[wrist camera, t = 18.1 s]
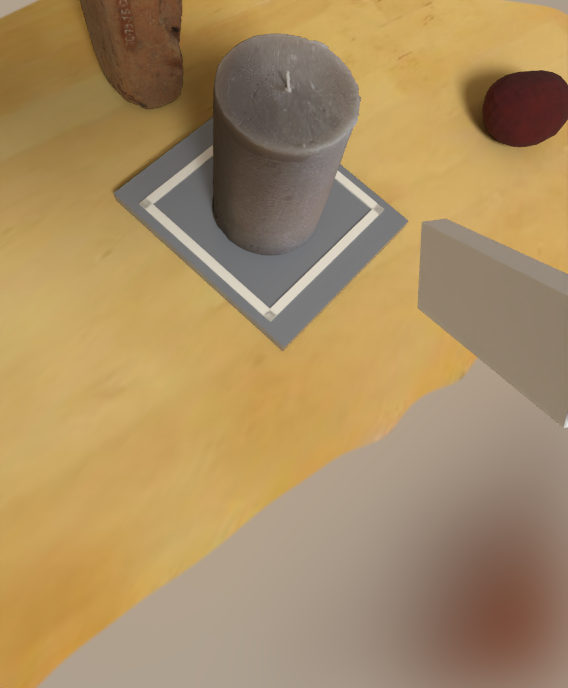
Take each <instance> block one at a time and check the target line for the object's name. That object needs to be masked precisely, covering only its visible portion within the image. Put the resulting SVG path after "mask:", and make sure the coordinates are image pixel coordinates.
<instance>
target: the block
mask: <svg viewBox="0 0 568 688" xmlns="http://www.w3.org/2000/svg"><path fill="white" fill-rule="evenodd" d="M80 2H81V6H82V10H83V14H84V17H85V21H86V24H87V27H88V31H89V34H90V38H91V41H92V44H93V47H94V50H95V53H96V56H97V58H98V61H99V63H100V66H101V68H102V70H103V73H104V75H105V76H106V78H107V80H108V81H109V82H110V83H111V84H112V85H113V87H114V88H115V89H116V90H117V91H118V92H119V93H120V94H122V96H123V97H124V98H125V99H126V100H127V101H129V102H132V103H134V104H139V105H141V106H142V107H143V108H145V109H151V108H157V107H161V106H163V105H165V104H167V103H170V102H173V101H174V100H175V99H177V98H178V96H179V95H180V94H181V90H182V86H183V65H182V63H183V59H182V54H181V51H180V46H179V42H180V30H181V16H182V0H80Z"/></svg>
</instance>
